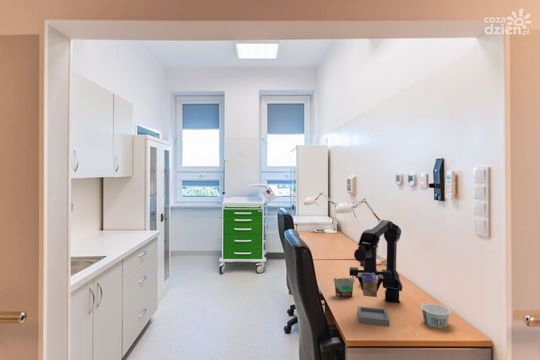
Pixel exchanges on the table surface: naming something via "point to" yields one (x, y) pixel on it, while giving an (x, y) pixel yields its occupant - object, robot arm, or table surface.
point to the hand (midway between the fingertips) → (369, 291)
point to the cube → (369, 288)
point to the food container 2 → (435, 315)
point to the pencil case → (368, 276)
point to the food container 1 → (344, 287)
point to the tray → (373, 315)
